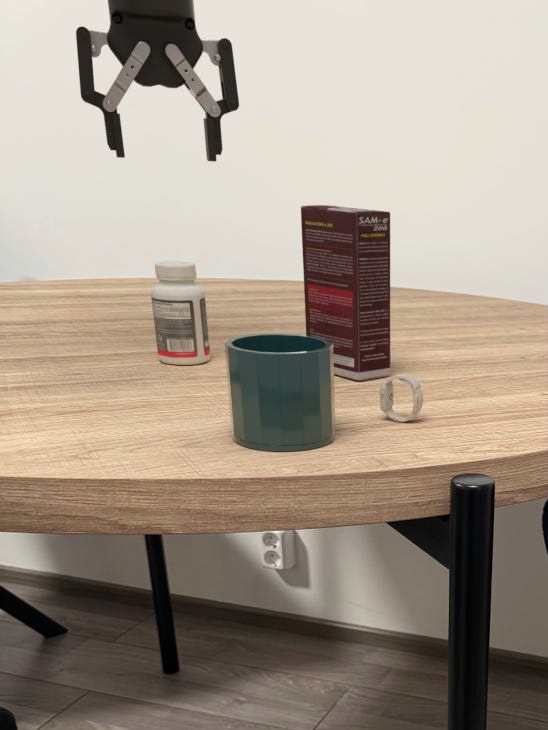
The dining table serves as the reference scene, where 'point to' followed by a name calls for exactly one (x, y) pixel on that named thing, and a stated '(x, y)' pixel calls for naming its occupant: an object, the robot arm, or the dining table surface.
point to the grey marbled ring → (387, 397)
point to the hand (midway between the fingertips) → (167, 159)
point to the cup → (281, 391)
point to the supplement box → (348, 286)
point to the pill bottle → (180, 315)
